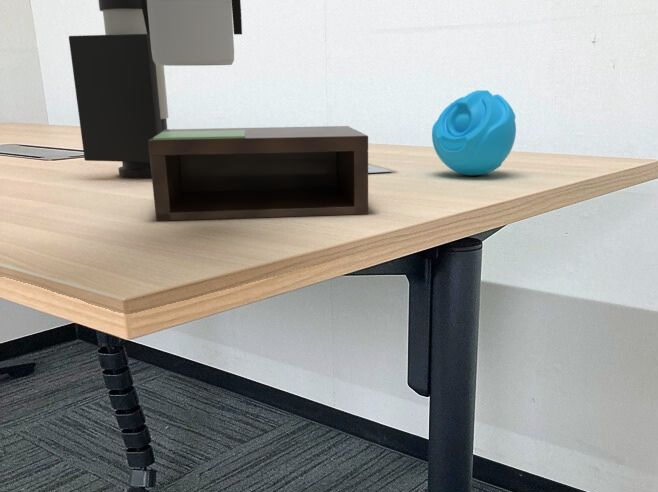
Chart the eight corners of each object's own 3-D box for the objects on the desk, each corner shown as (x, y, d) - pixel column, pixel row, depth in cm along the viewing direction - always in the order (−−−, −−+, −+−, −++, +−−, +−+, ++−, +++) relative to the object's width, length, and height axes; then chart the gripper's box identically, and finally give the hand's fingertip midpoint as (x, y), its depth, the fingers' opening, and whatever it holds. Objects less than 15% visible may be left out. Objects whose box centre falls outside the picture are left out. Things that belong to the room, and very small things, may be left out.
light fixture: (196, 172, 114) (182, -6, 106) (161, 182, 104) (142, -13, 96) (127, 170, 118) (108, -2, 109) (86, 179, 108) (61, -10, 99)
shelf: (156, 220, 76) (147, 138, 74) (170, 197, 91) (164, 127, 88) (368, 214, 79) (368, 133, 76) (348, 192, 94) (348, 124, 91)
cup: (165, 64, 62) (155, -57, 59) (136, 66, 70) (125, -40, 67) (247, 64, 65) (241, -51, 62) (209, 66, 73) (202, -36, 70)
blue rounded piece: (416, 175, 108) (418, 91, 104) (462, 168, 116) (465, 89, 112) (486, 182, 101) (491, 91, 97) (530, 174, 108) (536, 89, 104)
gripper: (-10, -234, 46) (81, 54, 67) (313, -222, 49) (304, 53, 69) (3, -300, 49) (86, -6, 70) (306, -286, 52) (300, -4, 72)
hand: (194, 23), depth 70 cm, fingers closed on cup, 7 cm apart
